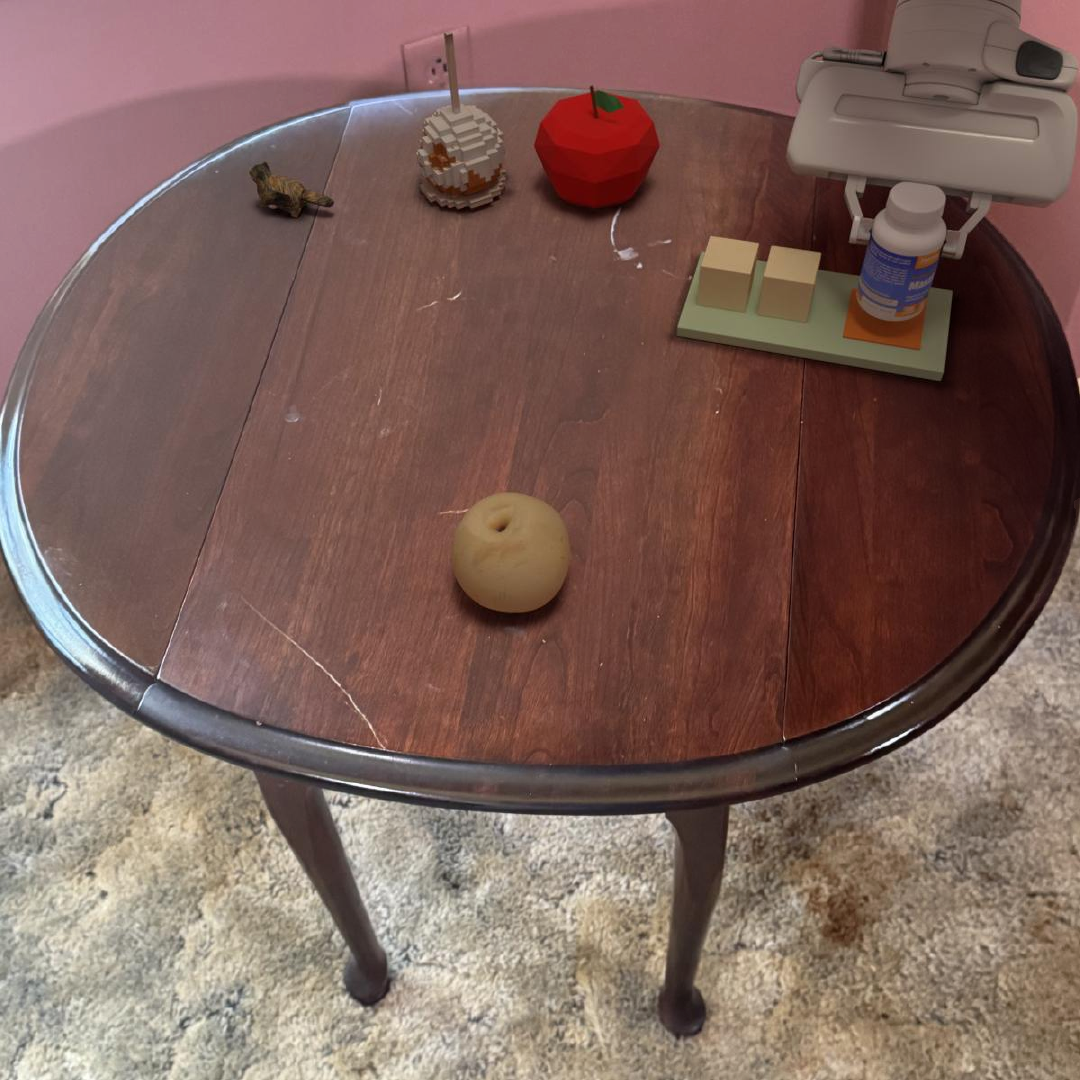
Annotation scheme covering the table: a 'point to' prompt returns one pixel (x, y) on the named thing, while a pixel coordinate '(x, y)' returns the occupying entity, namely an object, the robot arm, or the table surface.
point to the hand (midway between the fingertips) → (904, 250)
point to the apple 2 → (596, 148)
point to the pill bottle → (903, 252)
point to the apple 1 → (511, 552)
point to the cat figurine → (284, 191)
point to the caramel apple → (460, 150)
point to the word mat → (820, 328)
